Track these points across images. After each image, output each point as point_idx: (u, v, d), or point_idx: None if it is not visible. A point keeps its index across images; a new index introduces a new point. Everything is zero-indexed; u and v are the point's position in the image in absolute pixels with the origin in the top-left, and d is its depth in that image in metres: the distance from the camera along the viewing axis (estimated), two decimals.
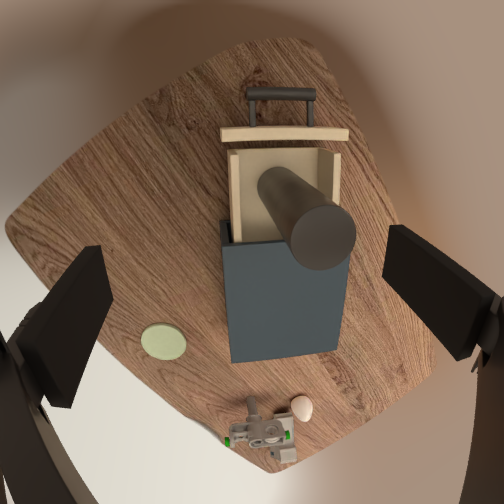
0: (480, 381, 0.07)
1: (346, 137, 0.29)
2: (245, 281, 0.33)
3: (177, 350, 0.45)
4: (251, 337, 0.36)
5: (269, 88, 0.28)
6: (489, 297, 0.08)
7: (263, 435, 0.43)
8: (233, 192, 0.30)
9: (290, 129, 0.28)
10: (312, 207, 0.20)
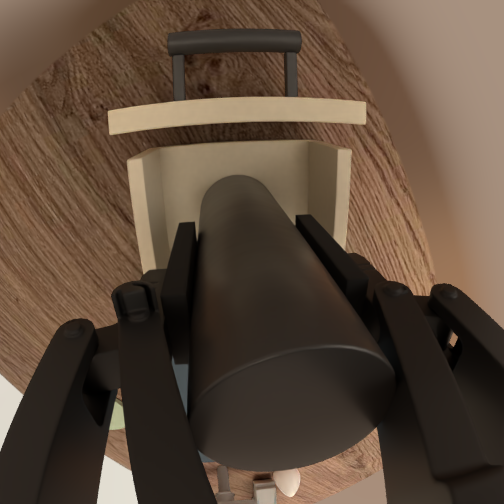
0: None
1: (362, 117, 0.14)
2: (177, 378, 0.18)
3: (120, 421, 0.30)
4: None
5: (210, 31, 0.13)
6: (359, 281, 0.09)
7: None
8: (138, 231, 0.15)
9: (246, 100, 0.13)
10: (253, 355, 0.05)
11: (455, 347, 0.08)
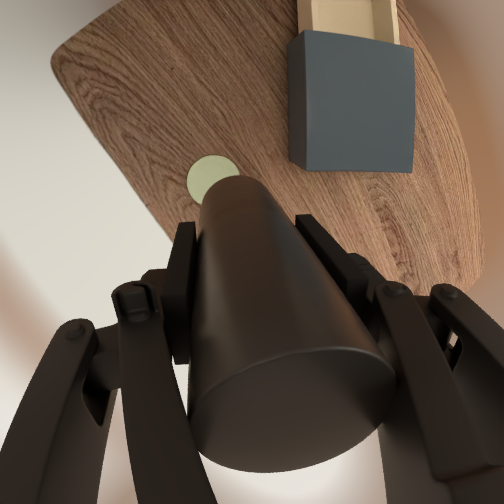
0: None
1: None
2: (325, 66, 0.28)
3: None
4: (329, 135, 0.31)
5: None
6: (359, 281, 0.09)
7: None
8: None
9: None
10: (253, 357, 0.05)
11: (455, 347, 0.08)
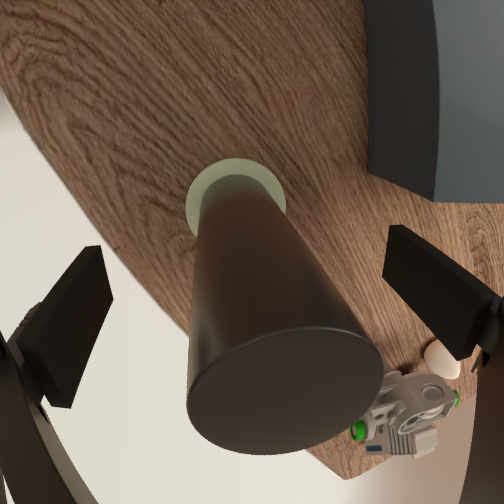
0: (480, 381, 0.07)
1: None
2: (460, 7, 0.10)
3: None
4: (471, 133, 0.13)
5: None
6: (489, 297, 0.08)
7: (424, 404, 0.20)
8: None
9: None
10: (247, 336, 0.06)
11: None
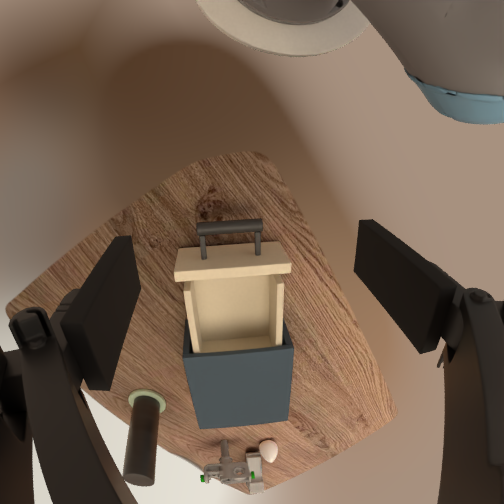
0: (447, 377, 0.08)
1: (288, 270, 0.34)
2: (204, 379, 0.38)
3: None
4: (213, 413, 0.41)
5: (217, 224, 0.33)
6: (450, 289, 0.09)
7: (232, 475, 0.48)
8: (188, 318, 0.35)
9: (235, 268, 0.33)
10: (127, 473, 0.34)
11: None
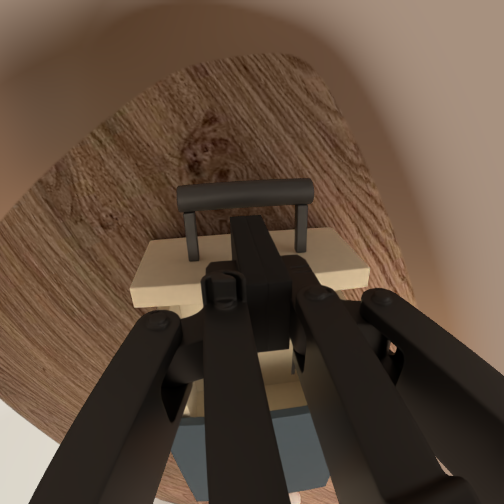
0: (305, 388, 0.08)
1: (364, 282, 0.16)
2: (200, 453, 0.20)
3: None
4: None
5: (220, 188, 0.16)
6: (282, 284, 0.09)
7: None
8: None
9: None
10: None
11: (396, 354, 0.09)
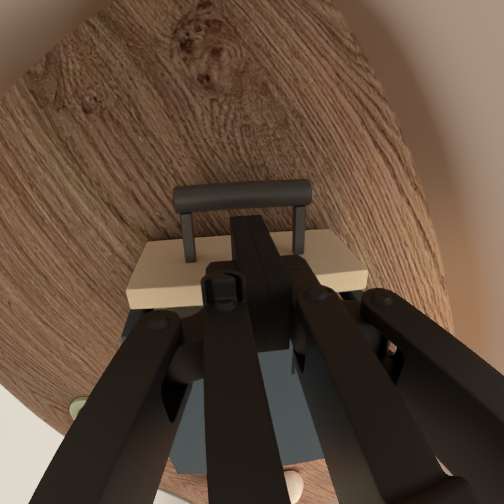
0: (305, 388, 0.08)
1: (362, 284, 0.16)
2: None
3: None
4: (201, 452, 0.20)
5: (217, 189, 0.16)
6: (281, 284, 0.09)
7: None
8: None
9: None
10: None
11: (396, 354, 0.09)
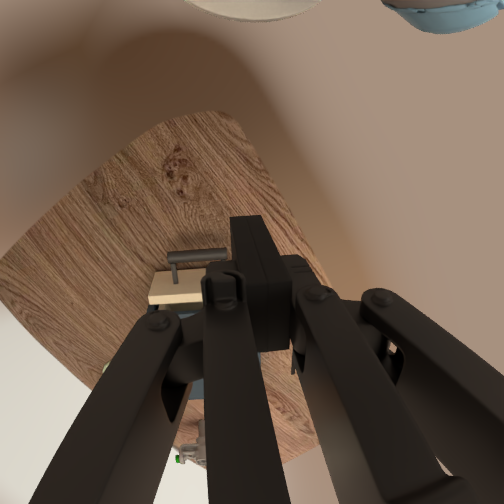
0: (305, 388, 0.08)
1: None
2: None
3: None
4: None
5: (185, 254, 0.37)
6: (282, 284, 0.09)
7: None
8: None
9: (201, 294, 0.36)
10: None
11: (396, 354, 0.09)
